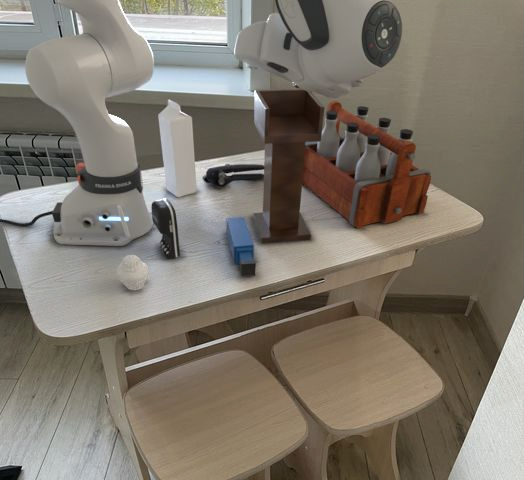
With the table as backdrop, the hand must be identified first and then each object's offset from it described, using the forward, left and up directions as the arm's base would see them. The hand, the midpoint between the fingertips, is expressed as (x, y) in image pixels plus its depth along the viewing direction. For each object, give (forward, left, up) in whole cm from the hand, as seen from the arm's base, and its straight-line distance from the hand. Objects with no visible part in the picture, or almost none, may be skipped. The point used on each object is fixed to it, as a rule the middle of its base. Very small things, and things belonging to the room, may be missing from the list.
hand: (273, 73), depth 87 cm
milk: (-17, +32, -36) cm, 51 cm away
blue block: (-6, -1, -36) cm, 36 cm away
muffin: (-29, -10, -36) cm, 47 cm away
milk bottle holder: (+29, +23, -36) cm, 51 cm away
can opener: (-2, +35, -36) cm, 50 cm away
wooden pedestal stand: (+5, +9, -36) cm, 37 cm away
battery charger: (-22, +2, -36) cm, 42 cm away
